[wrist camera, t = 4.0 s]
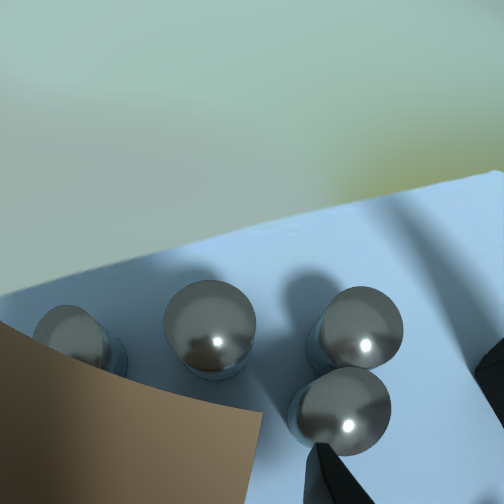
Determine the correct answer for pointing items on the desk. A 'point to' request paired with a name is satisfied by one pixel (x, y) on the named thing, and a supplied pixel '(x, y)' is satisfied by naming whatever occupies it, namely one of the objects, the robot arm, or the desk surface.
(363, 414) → the metal spacers
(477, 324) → the desk surface
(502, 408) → the handheld gaming console
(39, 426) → the walnut post
